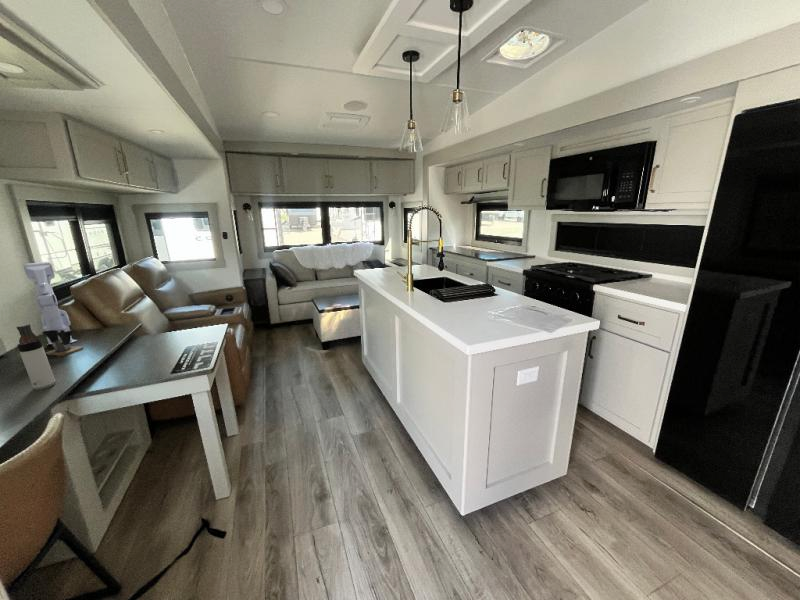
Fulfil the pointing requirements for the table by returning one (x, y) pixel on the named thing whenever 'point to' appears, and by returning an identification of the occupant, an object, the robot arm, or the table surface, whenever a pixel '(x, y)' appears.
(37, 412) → the table surface
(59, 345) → the octagonal steel tube
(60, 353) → the brown peg board
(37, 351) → the travel mug
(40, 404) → the table surface
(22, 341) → the sauce bottle
